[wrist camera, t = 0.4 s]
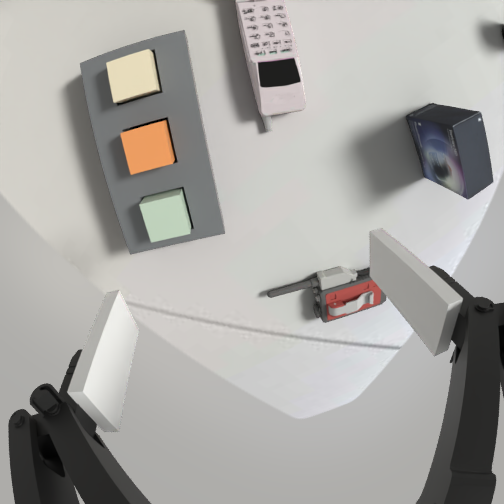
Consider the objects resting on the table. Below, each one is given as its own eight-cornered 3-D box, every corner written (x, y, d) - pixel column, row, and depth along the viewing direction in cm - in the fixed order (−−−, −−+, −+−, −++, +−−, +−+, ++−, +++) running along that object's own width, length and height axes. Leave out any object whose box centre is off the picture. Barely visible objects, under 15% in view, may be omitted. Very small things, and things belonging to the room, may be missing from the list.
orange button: (130, 129, 31) (120, 133, 27) (168, 119, 31) (162, 121, 27) (139, 166, 33) (130, 175, 29) (176, 157, 33) (172, 163, 29)
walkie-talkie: (384, 250, 45) (264, 284, 45) (398, 263, 41) (269, 301, 41) (383, 293, 50) (274, 326, 49) (395, 308, 46) (279, 344, 45)
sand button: (118, 67, 27) (106, 62, 23) (156, 55, 27) (148, 48, 23) (125, 103, 29) (113, 102, 25) (163, 91, 29) (156, 89, 25)
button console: (92, 66, 27) (79, 63, 24) (186, 38, 28) (184, 30, 24) (136, 240, 39) (130, 254, 35) (223, 221, 39) (225, 233, 36)
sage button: (146, 193, 35) (139, 204, 31) (183, 184, 35) (179, 194, 31) (156, 227, 37) (151, 242, 33) (192, 219, 37) (190, 233, 33)
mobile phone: (276, -66, 18) (322, 127, 30) (267, -45, 23) (306, 124, 35) (222, -62, 18) (267, 136, 30) (220, -41, 23) (259, 132, 35)
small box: (402, 116, 35) (451, 125, 26) (432, 102, 35) (482, 109, 25) (422, 179, 40) (468, 202, 31) (449, 163, 39) (495, 182, 30)
